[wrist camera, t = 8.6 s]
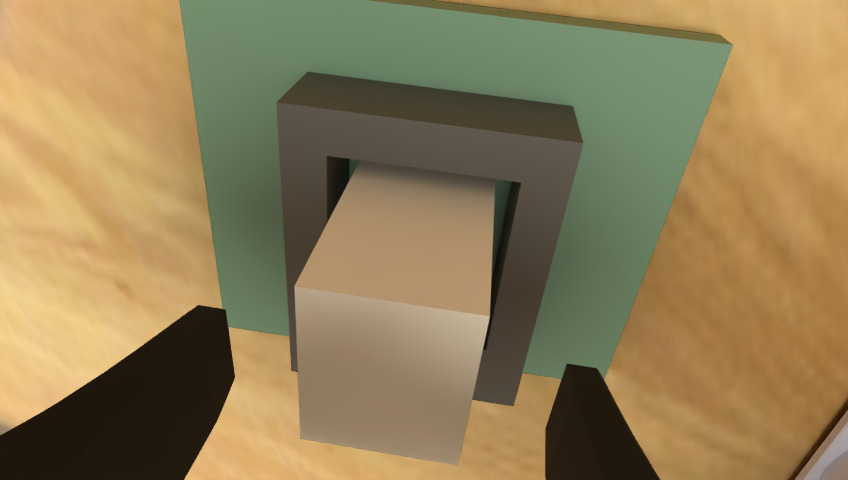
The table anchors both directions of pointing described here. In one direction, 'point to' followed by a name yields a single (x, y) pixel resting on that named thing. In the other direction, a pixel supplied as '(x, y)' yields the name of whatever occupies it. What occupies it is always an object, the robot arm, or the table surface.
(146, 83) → the table surface
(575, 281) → the header board
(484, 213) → the keyed plug
